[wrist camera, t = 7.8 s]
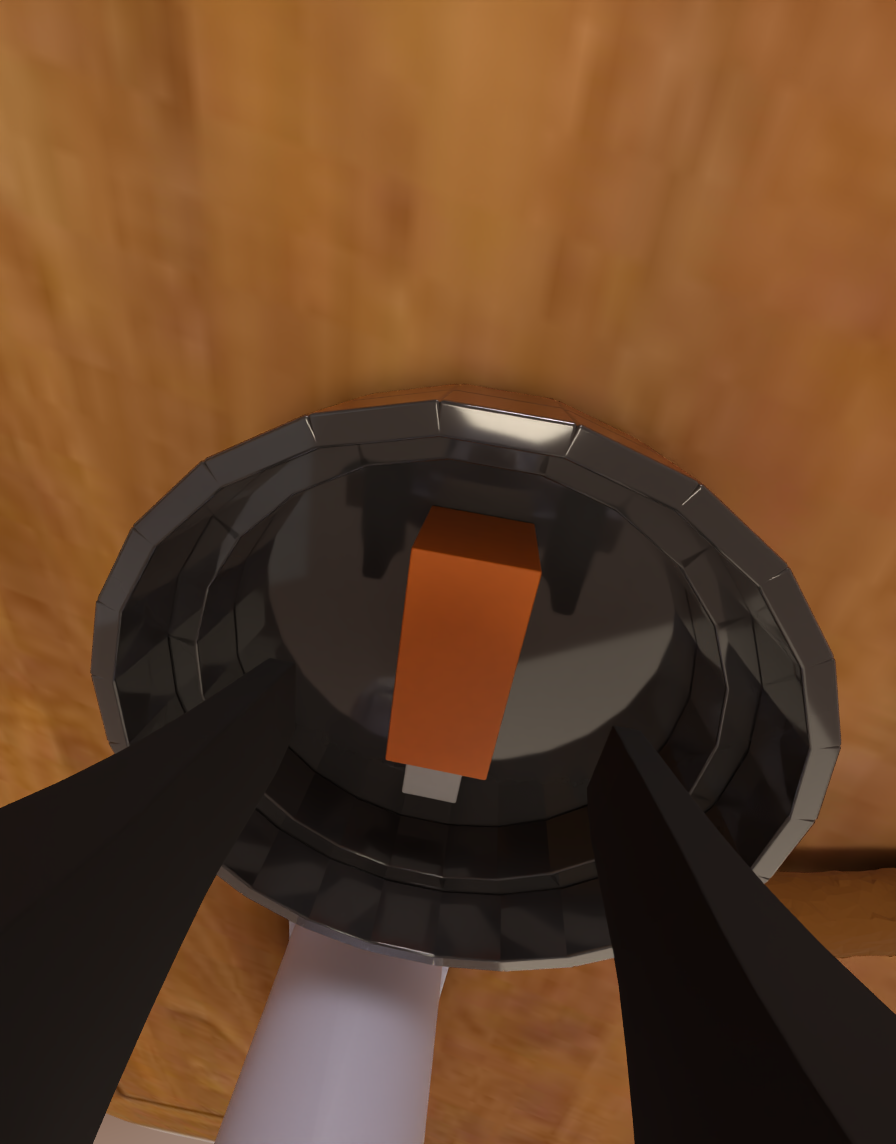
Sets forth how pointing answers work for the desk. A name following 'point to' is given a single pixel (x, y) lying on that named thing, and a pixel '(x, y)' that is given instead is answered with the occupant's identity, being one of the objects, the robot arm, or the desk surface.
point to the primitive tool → (843, 908)
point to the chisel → (459, 646)
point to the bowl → (540, 685)
